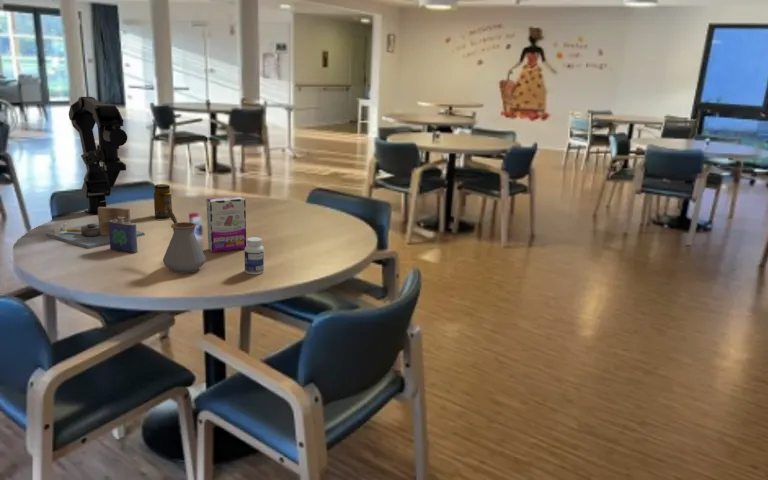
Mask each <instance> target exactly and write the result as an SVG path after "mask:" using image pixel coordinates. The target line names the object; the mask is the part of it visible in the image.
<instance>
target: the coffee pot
mask: <svg viewBox="0 0 768 480" xmlns="http://www.w3.org/2000/svg"><path fill="white" fill-rule="evenodd" d="M166 208H167V209H168V211H166V212H169V213H170V217H171V219H170V220H172V222H173V223H171V225H170V228H172V232H173V234H172V236H171V239H170V241H169V243H168V247H167V249H166V251H165V253H164V256H163V259H162V262H163V265H164V266H165V267H166V268H167V269H169V270H170V271H171V272H173V273H175V274H190V273H194V272H197V271H199V270H200V268H201V267H202V266H204V265H205V262H206V260H207V257H206V256H205V254H204V252H203V251H204V250H203V249H202V247H201V246H200V242H199V241H198V239H197V237H196V235H195V233H194V229H195V228H196V226H197V224H196V223H194V222H188V221H186V222H184V221H183V222H182V221H181V222H178V219H176V218H177V217H176V216H175V214H174V212H173V206H172V207H169V206H167V207H166ZM171 208H172V210H171ZM164 210H165V209H164ZM175 217H176V218H175Z"/></svg>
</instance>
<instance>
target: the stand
mask: <svg viewBox="0 0 768 480" xmlns="http://www.w3.org/2000/svg"><path fill="white" fill-rule="evenodd" d="M88 224H89V223H88ZM88 224H87V223H86V224H82V225H77V226H73V227H69V224H68V223H65V222H64V223H62V229H60V228H59V227H54V229H53V230H52V231H48V232H45V237H46V236H47V237H50V238H53V239H57V240H60V241H63V242H66V243H70V244H74V245H77V246H79V247H83V248H87V249H93V248H97V247H101V246H106V245H110V236H109V235H98V236H83V235H82V233H80V232H67V229H68V228H70V229H81V227H82V226H86V225H88ZM90 224H96V225H99V221H98V222H92V223H90ZM136 235H137V238H138V236H139V237H142V235H143V236H145V232H143V231H140V230H136Z"/></svg>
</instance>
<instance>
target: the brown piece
mask: <svg viewBox="0 0 768 480" xmlns="http://www.w3.org/2000/svg"><path fill="white" fill-rule="evenodd" d="M130 210H131V209H130V208H123V207H121V208H120V207H110V206H109V207H108V206H106V207H98V214H97V216H98V222H99V225H96V224H91V223H88V225H86V224H85V225H86V226H82V225H81V226H82V227H81V229H70V228H71V227H68V229H67V232H80V233H82V235H83V236H98V235H109V236H110V234H109V221H110V220H115V219H116V220H119V219H118V217H125V218H124V222H129V223H131V211H130Z"/></svg>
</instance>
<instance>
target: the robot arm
mask: <svg viewBox="0 0 768 480" xmlns="http://www.w3.org/2000/svg"><path fill="white" fill-rule="evenodd" d="M68 118H69V121H70V123H71V125H72V127H73V128H74V129H75V130H76V131H77V132H78V135H79V140H80V143H81V149H82V154H80V157H81V158H82V162H83V163H84V165H85V168H86V173H85V175H84V178H83V184H82V187H81V190H80V191H81V195H82V197H84V198H86V199H87V200H86V201H87V209H86V210H84V213H87V214H91V215H98V207H107V200H106V198H107V197H110V196H111V191H112V190H111V189H112V188H114V186H115V183H116V181H117V179H118V177H119V174H121V173H120V172H122V171H124V172H125V171H127V165H126V163H125V162H123V161H121V159H120V156H119V151H118V150H120V147H122V146H124V145H125V144H126V143H127V142H128V134H127V133H126V131H125V130H123V129H122V128H121V127H124V119H123V116H122V115H121V112H120V110H119V108H118V107H117V106H116V105H115V104H104V103H103V102H101V101H100V100H97V99H96V97H93V96H79V97H78V99H77V100H76V101H75V102H74V103H72V104H71V105H70V108H69V110H68ZM95 125H96V128H97V133H98V134H97V135H98V144H96V141H95V139H96V138H95V135H94V130H93V129H94V128H95Z"/></svg>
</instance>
